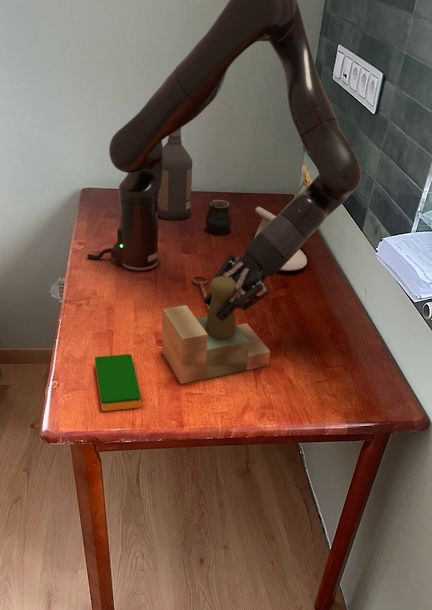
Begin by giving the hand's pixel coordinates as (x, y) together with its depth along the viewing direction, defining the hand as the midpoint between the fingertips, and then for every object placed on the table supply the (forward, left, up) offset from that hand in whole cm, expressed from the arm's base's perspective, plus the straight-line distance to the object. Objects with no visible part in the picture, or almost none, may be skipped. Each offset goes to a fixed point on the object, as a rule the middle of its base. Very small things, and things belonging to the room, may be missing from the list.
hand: (212, 310), depth 118 cm
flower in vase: (+10, +48, -12) cm, 50 cm away
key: (-6, +26, -12) cm, 29 cm away
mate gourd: (-11, +62, -12) cm, 64 cm away
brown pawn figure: (+2, +1, -5) cm, 5 cm away
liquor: (-26, +69, -12) cm, 74 cm away
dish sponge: (-15, -13, -12) cm, 23 cm away
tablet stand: (+4, +61, -12) cm, 62 cm away
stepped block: (+1, +1, -12) cm, 12 cm away
